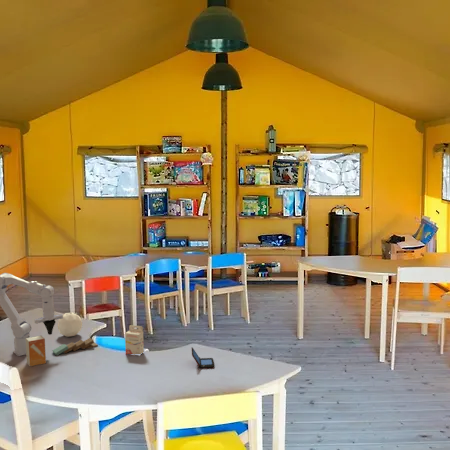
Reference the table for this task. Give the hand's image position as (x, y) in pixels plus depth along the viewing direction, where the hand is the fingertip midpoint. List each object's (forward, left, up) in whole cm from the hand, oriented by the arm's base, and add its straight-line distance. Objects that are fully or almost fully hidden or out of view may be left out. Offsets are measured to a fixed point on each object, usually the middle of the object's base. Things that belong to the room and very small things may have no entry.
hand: (50, 334), depth 299 cm
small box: (+10, -11, -11) cm, 18 cm away
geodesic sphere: (-22, +20, -11) cm, 32 cm away
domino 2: (+3, +5, -10) cm, 12 cm away
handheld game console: (+65, +53, -11) cm, 84 cm away
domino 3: (+3, +10, -10) cm, 14 cm away
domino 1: (+3, +1, -10) cm, 10 cm away
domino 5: (+3, +17, -10) cm, 20 cm away
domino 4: (+3, +15, -9) cm, 18 cm away
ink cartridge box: (+30, +34, -11) cm, 46 cm away
